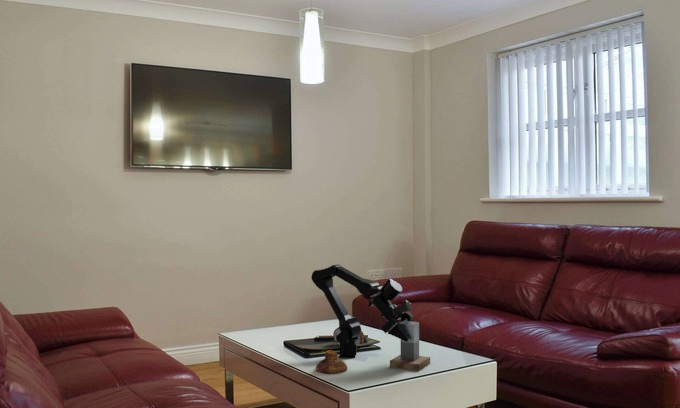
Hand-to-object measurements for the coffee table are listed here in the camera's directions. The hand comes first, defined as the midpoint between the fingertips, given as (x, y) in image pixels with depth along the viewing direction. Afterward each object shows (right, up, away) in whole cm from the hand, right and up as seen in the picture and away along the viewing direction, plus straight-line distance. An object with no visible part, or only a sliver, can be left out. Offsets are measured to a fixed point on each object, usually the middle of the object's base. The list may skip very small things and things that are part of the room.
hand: (412, 338), depth 242 cm
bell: (-31, -11, -5) cm, 33 cm away
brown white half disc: (-24, -11, +33) cm, 42 cm away
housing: (-1, -8, +1) cm, 8 cm away
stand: (-1, -10, 0) cm, 11 cm away
